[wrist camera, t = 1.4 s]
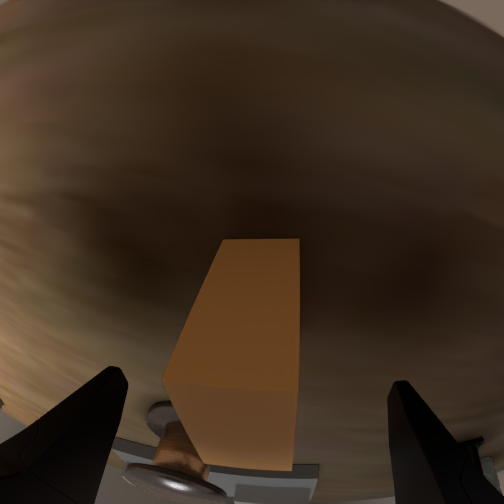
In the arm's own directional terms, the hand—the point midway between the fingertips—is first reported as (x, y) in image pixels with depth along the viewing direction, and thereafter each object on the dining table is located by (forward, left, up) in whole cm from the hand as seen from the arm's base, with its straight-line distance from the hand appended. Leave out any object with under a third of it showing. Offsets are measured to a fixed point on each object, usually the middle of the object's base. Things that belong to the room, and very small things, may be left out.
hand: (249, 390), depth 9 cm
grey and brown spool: (+6, +13, -5) cm, 15 cm away
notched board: (+6, +24, -5) cm, 25 cm away
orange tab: (0, 0, -5) cm, 5 cm away
